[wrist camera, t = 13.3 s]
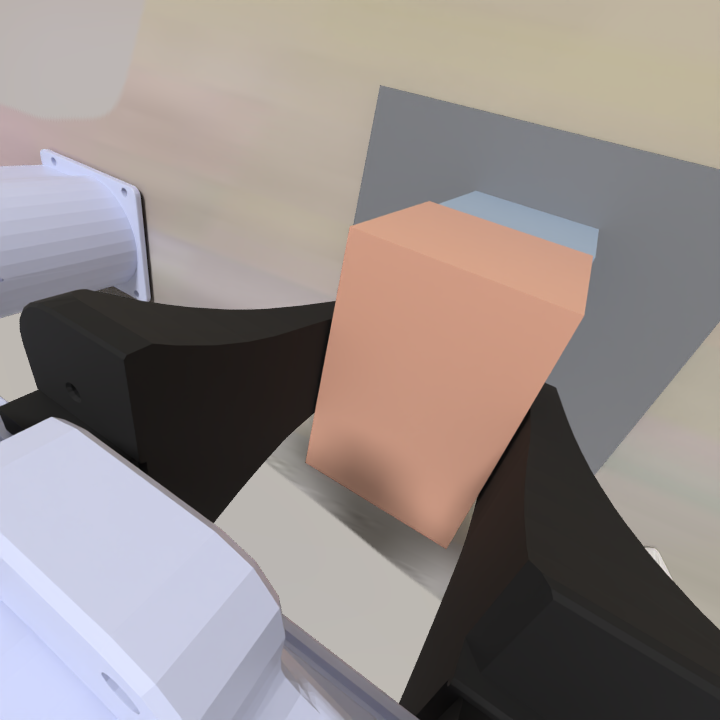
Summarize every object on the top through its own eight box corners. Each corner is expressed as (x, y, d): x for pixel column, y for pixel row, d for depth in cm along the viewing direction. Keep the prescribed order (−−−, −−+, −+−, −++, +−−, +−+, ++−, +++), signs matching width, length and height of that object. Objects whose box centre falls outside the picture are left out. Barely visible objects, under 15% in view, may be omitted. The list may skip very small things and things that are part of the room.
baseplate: (335, 341, 22) (330, 345, 22) (387, 86, 16) (380, 85, 15) (593, 467, 18) (593, 476, 18) (813, 192, 12) (822, 194, 11)
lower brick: (423, 343, 19) (381, 388, 16) (475, 191, 15) (436, 204, 12) (514, 385, 18) (491, 444, 14) (598, 229, 14) (595, 257, 10)
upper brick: (374, 390, 15) (305, 462, 12) (429, 200, 11) (349, 226, 8) (487, 447, 14) (446, 549, 10) (593, 255, 10) (583, 315, 7)
